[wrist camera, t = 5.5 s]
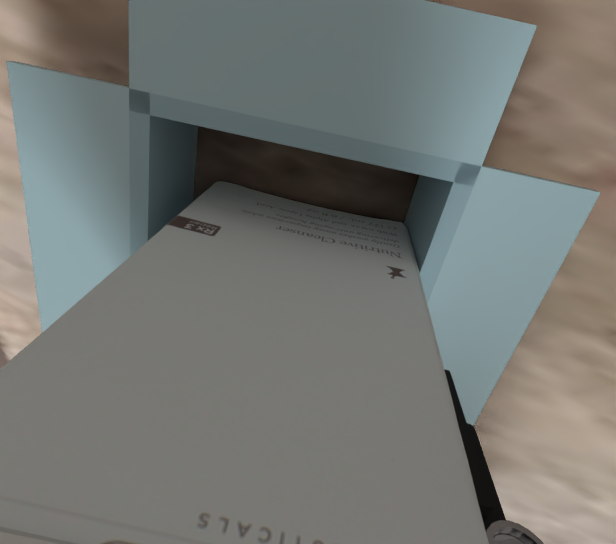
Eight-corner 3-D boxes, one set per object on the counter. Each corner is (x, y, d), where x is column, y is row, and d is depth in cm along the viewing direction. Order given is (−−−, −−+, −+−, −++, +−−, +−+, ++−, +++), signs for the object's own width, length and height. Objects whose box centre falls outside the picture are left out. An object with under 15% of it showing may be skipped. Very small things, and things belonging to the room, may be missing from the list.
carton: (581, 59, 14) (675, 56, 10) (409, 438, 23) (422, 517, 19) (90, -52, 14) (-15, -100, 10) (107, 374, 23) (56, 440, 19)
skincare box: (407, 220, 17) (646, 799, 4) (368, 337, 19) (420, 911, 6) (206, 175, 17) (-344, 608, 3) (195, 300, 19) (-130, 810, 6)
